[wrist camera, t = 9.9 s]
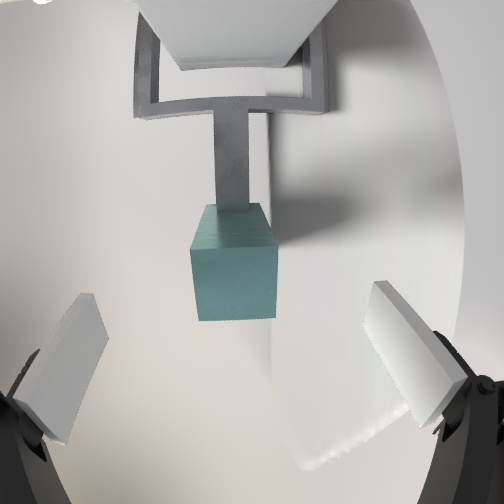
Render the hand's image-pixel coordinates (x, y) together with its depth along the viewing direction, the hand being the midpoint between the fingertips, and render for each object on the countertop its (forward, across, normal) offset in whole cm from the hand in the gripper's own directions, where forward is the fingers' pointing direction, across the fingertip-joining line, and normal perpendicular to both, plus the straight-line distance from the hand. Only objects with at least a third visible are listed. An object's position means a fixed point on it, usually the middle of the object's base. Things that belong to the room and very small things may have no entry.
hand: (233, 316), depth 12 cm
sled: (+13, 0, +10) cm, 17 cm away
